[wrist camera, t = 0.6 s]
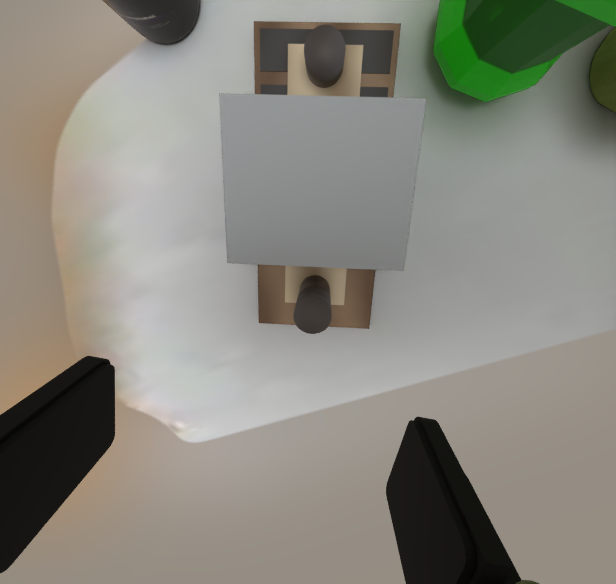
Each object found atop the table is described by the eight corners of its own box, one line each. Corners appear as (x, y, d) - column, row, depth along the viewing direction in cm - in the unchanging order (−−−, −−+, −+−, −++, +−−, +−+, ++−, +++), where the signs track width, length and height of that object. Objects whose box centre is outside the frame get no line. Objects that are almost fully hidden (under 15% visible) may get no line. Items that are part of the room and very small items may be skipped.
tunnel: (395, 127, 27) (426, 98, 19) (382, 250, 30) (403, 270, 22) (250, 122, 28) (219, 93, 19) (252, 245, 31) (227, 263, 23)
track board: (397, 31, 26) (401, 23, 25) (367, 324, 34) (369, 328, 33) (256, 28, 26) (253, 20, 25) (260, 318, 35) (258, 323, 33)
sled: (361, 50, 25) (378, -12, 18) (343, 302, 32) (349, 335, 24) (289, 49, 25) (274, -13, 18) (286, 299, 32) (274, 331, 25)
